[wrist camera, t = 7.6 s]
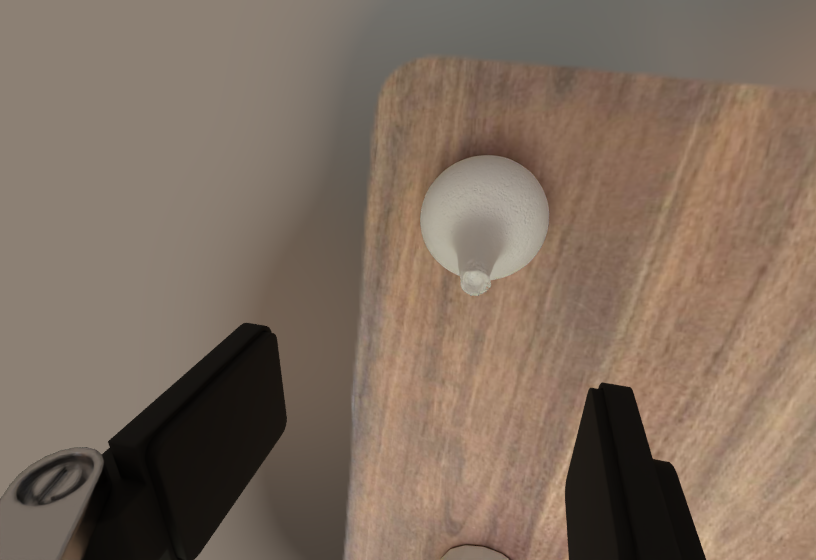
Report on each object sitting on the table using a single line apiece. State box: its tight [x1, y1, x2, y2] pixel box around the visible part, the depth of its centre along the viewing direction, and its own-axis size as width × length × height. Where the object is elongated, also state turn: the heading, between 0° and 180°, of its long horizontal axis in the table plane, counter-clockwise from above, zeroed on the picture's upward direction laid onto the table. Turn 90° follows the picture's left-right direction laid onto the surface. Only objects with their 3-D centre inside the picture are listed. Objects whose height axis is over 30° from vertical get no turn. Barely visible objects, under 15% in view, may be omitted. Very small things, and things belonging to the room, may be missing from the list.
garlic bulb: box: [420, 155, 549, 296], centre depth 20 cm, size 6×6×8 cm
